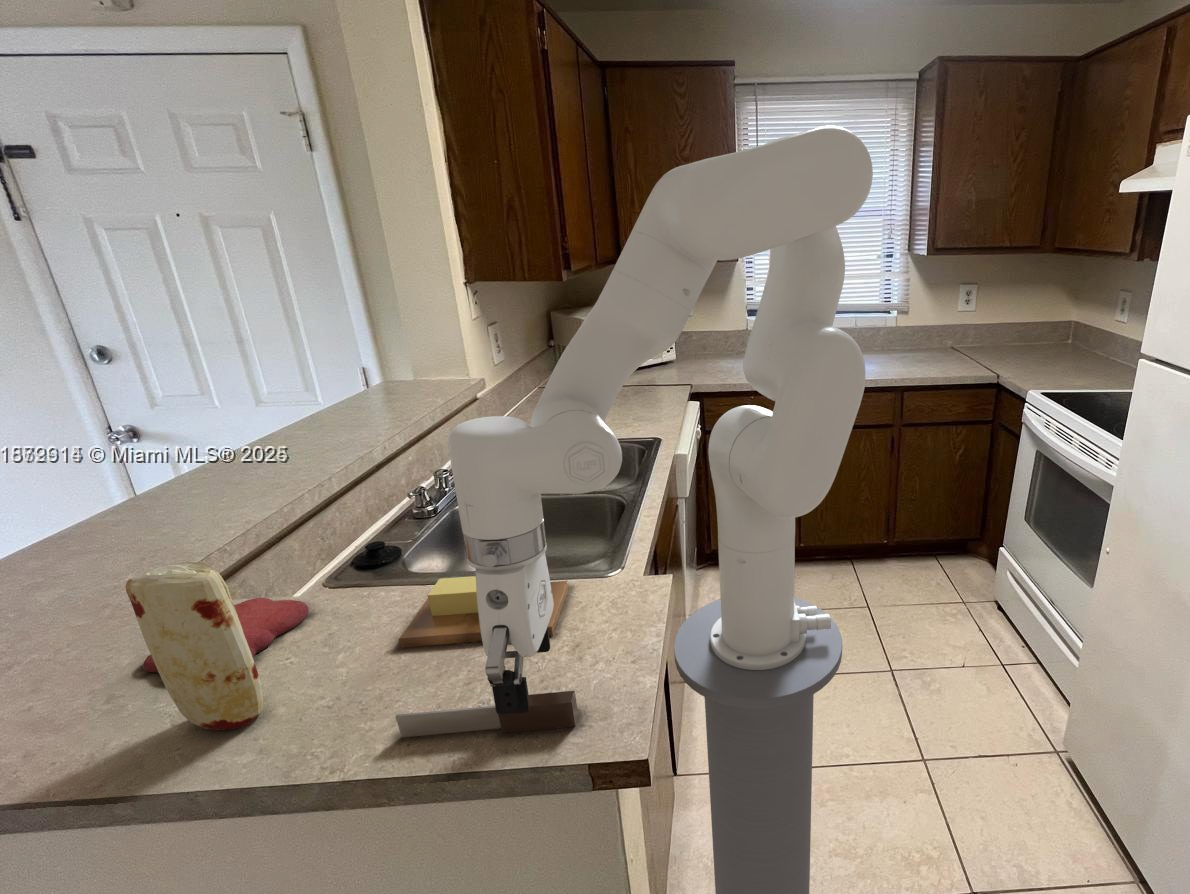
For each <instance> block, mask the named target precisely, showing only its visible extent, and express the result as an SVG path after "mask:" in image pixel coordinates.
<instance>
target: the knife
mask: <svg viewBox="0 0 1190 894" xmlns="http://www.w3.org/2000/svg"><path fill="white" fill-rule="evenodd" d="M528 695H529V702H530V708H529V711H528V712H526V713H513V714H498V713H496V708H495V705H485V706H476V707H466V708H465V707H464V708H455V709H454V708H453V709H444V710H443V709H441V710H431V711H430V710H429V711H420V712H411V713H398V714H396V715H395V719H396V723H397V726H398V731H399V733H400V737H401V738H412V737H421V736H433V735H442V734H443V735H444V734H453V733H455V734H456V733H465V732H474V731H485V730H487V731H488V730H495V729H497V730H498V729H500V731H501V733H502V734H509V733H520V732H532V731H541V730H551V729H563V728H574V727H576V726H577V720H578V716H579V710H578V703H577V697H576V696H577V695H576V691H575V690H565V691H554V692H543V693H533V694H528Z"/></svg>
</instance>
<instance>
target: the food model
mask: <svg viewBox="0 0 1190 894" xmlns="http://www.w3.org/2000/svg"><path fill="white" fill-rule="evenodd" d="M125 592H126V594H127V597H128V600H129V601H130V604H131V606H132V609H133V612H134V615H135V618H136V620H137V624H138V626H139V629H140V632H141V636H142V638H143V640H144V642H145V644H146V646H147V649H148V652H149V653H150V655H151V656H152V658H153V660H154V663H155V665H156V667H157V669H158V672H157V673H158V674H159V676H160V678H161V681H162V683H163V685H164V688H165V689H166V691H167V693H168V695H169V697H170V699H171V700H172V701H173V703H174V705H175V706H176V708H177V709H178V711H179V712H180V713H181V715H182V716H183V717H184V718H186V720H188V722H190V723H192V724H194V725H195V726H197V727H201V728H203V729H205V730H213V731H219V730H221V731H223V730H234V729H240V728H242V727H244V726H246V725H247V726H248V725H249V724H250V723H251V722H252V721H254V720H256V719H257V718H258V717H260V715H262V713H263V709H264V695H263V688H262V682H261V678H260V676H259V672H258V669H257V667H256V662H255V659H254V658H253V657H252V654H251V651H250V649H249V646H248V643H247V640H246V637H245V635H244V632H243V629H242V626H241V624H240V621H239V618H238V615H237V612H236V610H235V607H234V605H235V604H234V601H233V599H232V596H231V593H230V590H229V587H228V584H227V582H226V581H225V580H224V578H223V577H222V575H221V574H220V573H219V572H218V571H217V570H215V569H214V567H212V566H211V565H209V564H208V563H206V562H198V561H197V562H196V561H185V562H179V563H178V562H177V563H173V564H168V565H164V566H161V567H156V568H153V569H151V570H149V571H146V572H144V573H142V574H140V575H137V576H136V577H132V578H129V579H128V580H127V581H126V583H125Z"/></svg>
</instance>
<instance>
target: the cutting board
mask: <svg viewBox="0 0 1190 894" xmlns="http://www.w3.org/2000/svg"><path fill="white" fill-rule="evenodd" d="M550 584H551V590H552V596H553V612H552V615H551V618H550V621H549V624H548V630H549V637H551V636H554V633H555V631H556V628H557V624H558V622H559V619H560V617H561V613H562V610H563V608H564V605H565V600H566V598H567V596H568V593H569V589H570V588H569V580H561V581H560V580H559V581H550ZM398 641H399V644H400V648H414V647H426V646H438V645H450V644H462V643H463V644H464V643H465V644H466V643H475V642H482V637H481V631H480V623H479V615H478V613H468V614H455V615H441V616H432V613H431V609H430V604H429V600H428V598H427V599H426V600H425V602H423V605H422V606H421V607H420V608H419V610H418V611H417V613H416V614H415V616H414V617H413V618H412V620H411V621H410V623H409V624H408V625H407V626H406V628H405V629H404V631H403V633H402V634H401V635H400V636H399V638H398Z"/></svg>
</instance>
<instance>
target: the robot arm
mask: <svg viewBox="0 0 1190 894" xmlns="http://www.w3.org/2000/svg"><path fill="white" fill-rule="evenodd" d="M873 169H874V168H873V163H872V157H871V155H870V152H869V150H868V148H867V146H866V145H865V143H864V142H863V141H862V139H861V138H859V137H858V135H856V134H855V133H854V132H852V131H851V130H848V129H846V128H844V127H841V126H838V125H837V126H836V125H823V126H818V127H815V128H812V129H808V130H804V131H801V132H798V133H793V134H789V135H786V136H782V137H779V138H775V139H773V140H770V141H768V142H766V143H764V144H761V145H758V146H754V147H751V148H747V149H743V150H739V151H735V152H731V153H725V154H721V155H717V156H712V157H709V158H708V157H707V158H704V159H701V160H696V161H693V162H689V163H687V164H683V165H679V166H677V167H674V168H672V169H670V170H669V171H667V172H666V173H664V174H663V175H662V176H661V178H659V179H658V181H657V182H656V183H655V184H654V187H653V188H652V190H651V191H650V194H649V195H648V197H647V198H646V201H645V203H644V205H643V206H642V209H641V211H640V213H639V216H638V217H637V219H636V221H635V223H634V225H633V228H632V229H631V232H630V233H629V236H628V238H627V240H626V242H625V245H624V246H623V249H622V250H621V252H620V255H619V257H618V259H617V261H616V263H615V264H614V267H613V269H612V271H611V273H610V274H609V277H608V279H607V281H606V282H605V285H604V287H603V289H602V291H601V293H600V294H599V296H598V298H597V300H596V302H595V304H594V305H593V307H591V309H590V311H589V312H588V314H586V317H585V318H584V319H583V321H582V323H581V325H580V327H578V330H577V331H576V332H575V334H574V335H573V336H572V338H571V339H570V341H569V343H568V344H567V346H566V347H565V348H564V350H563V353H562V354H561V355H560V357H559V359H558V361H557V363H556V365H555V366H554V368H553V371H552V372H551V374H550V377H549V378H548V380H547V383H546V385H545V387H544V389H543V391H542V393H541V395H540V397H539V399H538V402H537V404H536V405H535V408H534V410H533V413H532V417H531V419H530V424H529V423H528V422H527V421H526V420H524V419H521V418H520V417H519V418H518V417H514V416H507V415H493V416H491V415H490V416H482V417H477V418H472V419H469V420H466V421H463V422H460V423H459V424H456V426H455V427H453V428H451V429H452V430H451V431H450V433H449V434H448V439H447V446H448V454H449V459H450V466H451V467H450V468H451V472H452V480H453V484H454V491H455V497H456V502H457V508H458V513H459V514H458V515H459V520H460V526H461V533H462V539H463V545H464V551H465V557H466V562H467V564H468V565H469V566H470V567H472V568H473V569H475V576H476V592H477V604H478V615H479V623H480V631H481V637H482V641H481V642H482V646H483V651H484V654H485V655H486V657H487V659H486V663H485V666H484V671H485V675H486V676H487V680H488V683H489V685H490V687H491V689H492V695H493V701H494V702H493V703H494V706H495V708H496V713H498V714H513V713H526V712H528V711H529V708H530V702H529V695H530V694H529V689H528V681H527V676H523V672H524V670H523V669H524V657H528V658H531V657H533V656H535V655H536V654H537V653H548V652H549V651H550V650H551V638H550V636H549V630H548V624H549V621H550V618H551V615H552V612H553V596H552V590H551V584H550V582H551V578H550V573H549V567H548V562H547V556H546V552H547V550H548V543H547V536H546V535H547V534H546V526H545V518H544V511H543V502H542V494H544V495H545V494H547V495H548V494H550V495H551V494H553V495H555V494H557V495H580V494H588V493H593V492H596V491H598V490H600V489H603V488H605V487H606V486H608V485H609V484H610V483H612V482H613V480H615V478H616V477H617V475H618V474H619V472H620V470H621V467H622V463H623V450H622V446H621V444H620V442H619V439H618V437H617V436H616V435H615V434H614V432H613V431H612V430H611V428H610V427H609V426H608V425H607V424H606V423H605V422H606V419H607V416H608V415H609V412H610V410H611V408H612V406H613V404H614V402H615V401H616V399H617V397H618V395H619V394H620V392H621V389H622V388H623V387H624V385H625V384H626V382H627V381H628V380H629V378H630V377H631V376H632V375H633V373H635V371H636V370H637V369H639V367H641V366H642V365H643V364H645V363H647V362H648V361H650V360H651V359H653V358H655V357H657V356H659V355H661V354H662V353H664V352H666V351H667V350H668V349H669V348H671V347H672V346H673V345H674V344H676V342H677V341H678V339H679V338H680V336H681V334H682V332H683V329H684V327H685V325H686V323H687V321H688V320H689V317H690V316H691V313H692V311H693V309H694V307H695V305H696V303H697V301H698V299H699V298H700V296H701V293H702V291H703V289H704V287H705V285H706V284H707V281H708V279H709V277H710V276H711V274H712V272H713V270H714V268H715V266H716V263H717V262H718V261H733V260H738V259H743V258H747V257H750V256H754V255H757V254H760V253H763V252H767V251H768V255H769V258H768V259H769V260H768V269H767V274H766V279H765V284H764V286H763V291H762V294H761V298H760V301H759V304H758V307H757V311H756V314H755V317H754V321H753V325H752V328H751V331H750V334H749V337H748V341H747V344H746V347H745V351H744V356H743V361H742V363H743V364H742V369H743V374H744V377H745V380H746V381H747V382H748V384H749V385H750V386H751V388H752V389H754V390H755V391H757V392H758V393H759V394H761V395H762V396H764V397H765V398H767V399H769V400H771V401H773V402H775V403H774V406H773V408H772V410H771V409H768V408H765V407H763V406H759V405H751V404H747V405H740V406H736V407H734V408H731V409H729V410H727V411H726V412H725V413H723V414H722V415H721V416H720V417H719V418H718V420H716V422H715V424H714V425H713V428H712V430H711V432H710V435H709V440H708V449H707V450H708V463H709V471H710V476H711V480H712V486H713V493H714V497H715V506H716V518H717V520H716V522H717V546H718V572H719V593H720V594H719V595H720V598H719V599H721V618H719V619H718V620H717V621H716V623H715V624H714V625H713V627H712V629H711V634H710V642H711V647H712V650H713V651H714V653H715V654H716V655H717V656H718V657H719V658H720V659H721V660H722V661H724V662H726V663H727V664H729V665H732V666H734V667H737V668H741V669H747V670H767V669H773V668H777V667H780V666H783V665H785V664H787V663H789V662H791V661H792V660H794V659H795V658H796V657H797V656H798V655H799V654H800V653H801V652H802V650H803V649H804V647H805V643H806V633H807V630H815V629H816V630H823V629H830V628H831V620H830V618H831V616H830V614H829V613H826V614H821V615H818V612H817V607H818V606H817V605H815V606H809V607H802V608H800V607H799V606H796V604H795V601H794V597H795V580H796V579H795V578H796V577H795V567H796V566H795V565H796V564H795V563H796V561H795V560H796V556H795V555H796V554H795V553H796V551H795V550H796V518H799V517H802V516H804V515H807V514H809V513H810V512H812V511H813V510H814V509H816V508H817V507H818V506H819V505H820V504H821V503H822V502H823V500H824V499H825V498H826V497H827V495H828V494H829V491H830V490H831V488H832V486H833V483H834V481H835V478H836V476H837V474H838V471H839V468H840V465H841V463H842V460H843V457H844V454H845V451H846V448H847V445H848V441H849V439H850V437H851V433H852V430H853V427H854V424H855V421H856V418H857V415H858V413H859V409H860V407H861V403H862V400H863V396H864V391H865V387H866V364H865V359H864V355H863V352H862V350H861V348H860V346H859V344H858V343H857V341H856V340H855V339H854V338H853V336H851V335H850V334H849V333H847V332H846V331H843V330H842V329H840V328H838V327H835V326H833V325H834V321H835V318H836V315H837V310H838V307H839V303H840V298H841V294H842V291H843V288H844V282H845V275H846V259H845V253H844V247H843V243H842V239H841V236H840V234H839V230H838V228H837V226H839V225H841V224H844V223H845V222H847V221H848V220H850V219H851V218H853V217H854V216H855V215H857V213H858V211H860V209H861V208H862V207H863V205H864V204H865V203H866V201H867V199H868V196H869V195H870V191H871V188H872V185H873V176H874V172H873ZM508 646H513V648H514V650H508V651H507V648H508ZM505 659H514V665H513V666H514V667H513V670H511V669H506V664H505Z"/></svg>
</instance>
